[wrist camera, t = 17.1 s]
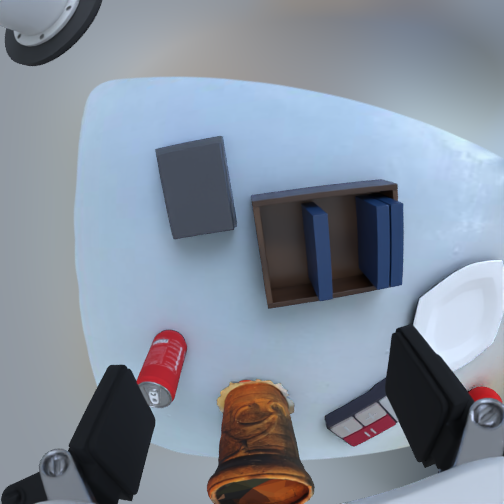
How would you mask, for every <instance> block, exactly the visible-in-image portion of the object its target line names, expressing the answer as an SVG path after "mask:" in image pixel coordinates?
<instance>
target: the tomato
mask: <svg viewBox="0 0 504 504" xmlns="http://www.w3.org/2000/svg"><path fill="white" fill-rule="evenodd" d="M468 393H469V394H470V396H471V397H472V398H473V400H474V401H475V402H476V401H477V400H479V399H482V398H493V399H497V400H498V401H500V402H502V400H501V398H500V396H499V395H498V394H497V393H496V392H495V391H494V390H492V389H490V388H487V387H476V388H474V389H472V390H470V391H469V392H468Z"/></svg>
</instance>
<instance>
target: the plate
mask: <svg viewBox="0 0 504 504" xmlns="http://www.w3.org/2000/svg"><path fill="white" fill-rule="evenodd" d="M503 312H504V267H503V262H502V260H492V261H482V262H477V263H473V264H470V265H467V266H464V267H463V268H461V269H459V270H457V271H455V272H454V273H452V274H451V275H449V276H448V277H446V278H445V279H443V280H442V281H441V282H439V283H438V284H437V285H435V286H434V287H433V288H431V289H430V290H429V291H428V292H426V293H425V294H424V295H422V296H421V297H420V298H419V301H418V305H417V309H416V313H415V317H414V322H413V326H414V327H415V328H416V329H417V330H418V332H419V333H420V334H421V335H422V336H423V338H424V339H425V340H426V341H427V343H428V344H429V345H430V347H431V348H432V349H433V350H434V352H435V353H436V354H439V355H440V356H441V357H442V359H443V360H444V361H445V362H446V364H447V365H448V366H449V368H450V369H451V370H452V372H453V371H455V370H457V369H459V368H461V367H463V366H464V365H466V364H467V363H469V362H470V361H472V360H473V359H474V358H476V357H477V356H478V355H479V354H481V353H482V352H483V351H484V350H485V349H486V348H488V347H489V346H490V345H491V344H492V343H493V342H494V339H495V337H496V334H497V332H498V329H499V326H500V323H501V320H502V316H503Z"/></svg>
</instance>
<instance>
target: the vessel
mask: <svg viewBox="0 0 504 504" xmlns="http://www.w3.org/2000/svg"><path fill="white" fill-rule="evenodd" d="M287 391H288V390H286V389H284V388H283V387H282V385H281V383H277V384H275V385H274V384H273V382H272V381H270V380H267V381H261V380H259V379H256V381H251V380H243V381H240V382H239V383H232V382H230V384H229V386H228V387H227V388H225V389H224V390H222V391H221V392H220V394H221V396H220V397H218V399H217V405H218V406H219V409H220V411H221V412H222V413H223V420H222V426H221V439H220V444H219V459H218V461H219V465H218V468H217V470H216V472H215V473H214V474H213V475H212V476H211V478H210V479H209V481H208V484H207V492H208V495H209V497H210V499H211V500H212V502H213V503H214V504H304V503H305V502H307V501H308V500H310V498H311V497H312V495H313V494H314V484H313V481H312V479H311V477H310V475H309V474H308V473H307V472H306V471H305V469H304V466H303V465H302V463H301V461H300V458H299V453H298V447H297V442H296V438H295V434H294V430H293V426H292V421H291V417H290V414H292V413H293V412H294V403H293V401H292V400H290V399H288V398H286V397H287V396H289V394H288V393H287Z"/></svg>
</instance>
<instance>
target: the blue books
mask: <svg viewBox="0 0 504 504" xmlns="http://www.w3.org/2000/svg"><path fill="white" fill-rule="evenodd" d="M355 199H356V213H357V231H358V257H359V269H360V270H361V271H362V272H363V273H364V275H365V276H366V277H367V278H368V279H369V280H370V282H371V283H372V284H373V285H374V286H375V288H376V289H377V290H379V289H384V288H389V286H390V287H395V286H399V285H402V275H403V233H404V232H403V203H401V202H398V201H396V200H394V199H391V198H389V197H386V196H384V195H381V194H379V193H378V194H368V195H360V196H355Z"/></svg>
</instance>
